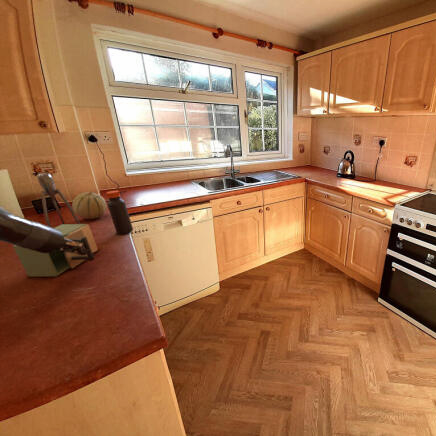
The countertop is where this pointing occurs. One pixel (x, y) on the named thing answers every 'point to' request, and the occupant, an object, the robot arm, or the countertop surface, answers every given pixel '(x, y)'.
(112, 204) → the bottle
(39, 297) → the countertop surface
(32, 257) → the cabinet
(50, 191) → the juicer
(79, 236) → the brown panel dark handle
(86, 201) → the cantaloupe
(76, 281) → the countertop surface
